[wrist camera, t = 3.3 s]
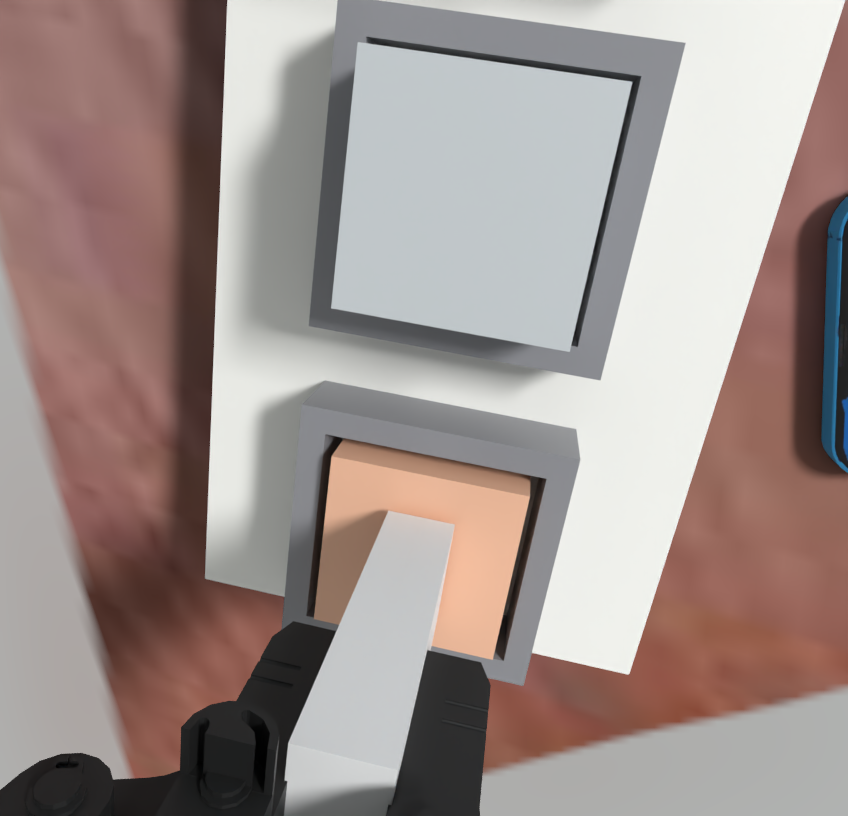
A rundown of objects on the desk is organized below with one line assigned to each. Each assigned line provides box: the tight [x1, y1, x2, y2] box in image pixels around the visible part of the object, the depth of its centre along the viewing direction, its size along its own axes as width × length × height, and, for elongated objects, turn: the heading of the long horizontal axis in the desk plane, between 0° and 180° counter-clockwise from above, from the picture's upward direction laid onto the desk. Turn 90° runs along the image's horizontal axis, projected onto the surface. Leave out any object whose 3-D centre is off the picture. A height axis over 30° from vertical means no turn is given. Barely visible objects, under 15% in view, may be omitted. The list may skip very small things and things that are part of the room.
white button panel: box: [205, 0, 845, 686], centre depth 15 cm, size 23×12×4 cm, turn 171°
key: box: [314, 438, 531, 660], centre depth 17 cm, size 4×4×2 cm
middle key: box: [331, 42, 632, 352], centre depth 13 cm, size 4×4×2 cm
